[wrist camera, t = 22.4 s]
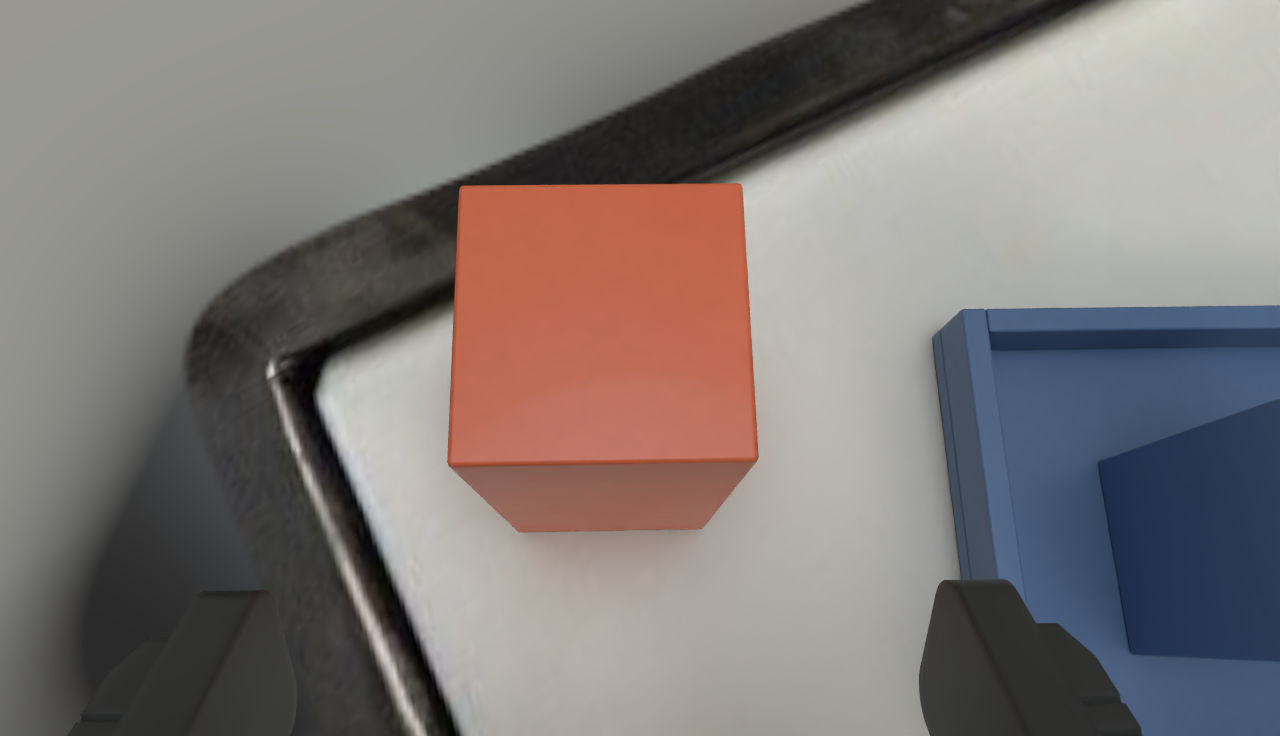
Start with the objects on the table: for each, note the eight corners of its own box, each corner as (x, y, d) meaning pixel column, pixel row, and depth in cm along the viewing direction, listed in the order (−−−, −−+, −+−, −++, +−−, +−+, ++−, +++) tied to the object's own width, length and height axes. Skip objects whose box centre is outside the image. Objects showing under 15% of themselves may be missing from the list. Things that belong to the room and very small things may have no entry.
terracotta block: (517, 532, 21) (446, 466, 13) (520, 354, 22) (457, 183, 14) (703, 529, 21) (759, 461, 13) (695, 352, 23) (743, 181, 14)
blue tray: (988, 811, 20) (1030, 831, 18) (931, 336, 23) (961, 308, 21) (1476, 797, 20) (1573, 817, 18) (1352, 331, 23) (1422, 302, 21)
